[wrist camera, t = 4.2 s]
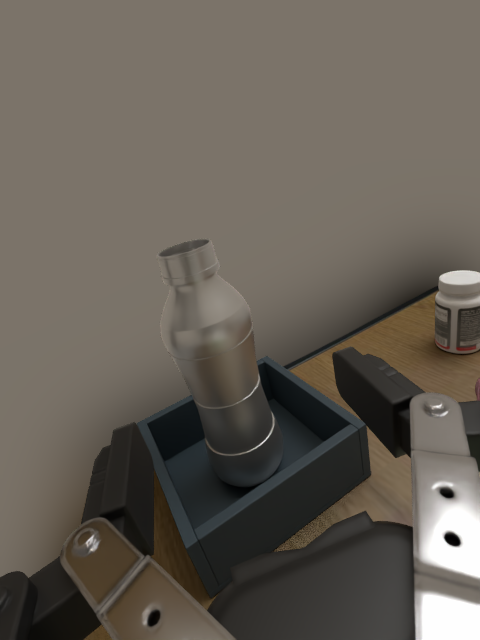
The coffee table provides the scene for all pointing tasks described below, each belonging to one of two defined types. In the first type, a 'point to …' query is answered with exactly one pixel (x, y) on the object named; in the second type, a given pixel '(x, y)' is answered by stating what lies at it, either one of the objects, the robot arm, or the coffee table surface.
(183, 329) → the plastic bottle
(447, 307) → the pill bottle
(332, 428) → the bin
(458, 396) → the coffee table surface
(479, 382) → the pink curved plastic piece
